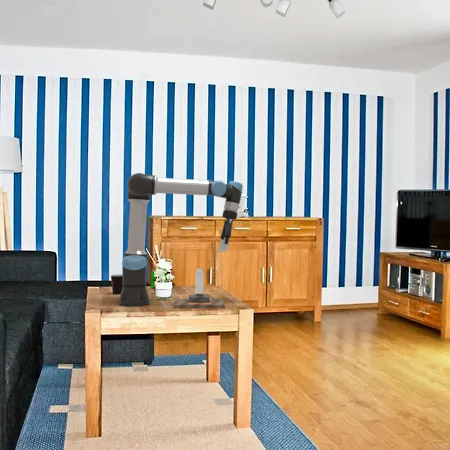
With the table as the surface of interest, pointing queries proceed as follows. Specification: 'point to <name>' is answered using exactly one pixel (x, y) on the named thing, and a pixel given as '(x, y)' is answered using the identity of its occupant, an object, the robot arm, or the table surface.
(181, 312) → the table surface
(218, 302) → the switch base
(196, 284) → the switch lever
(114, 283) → the coffee mug
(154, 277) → the puzzle cube
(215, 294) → the table surface
